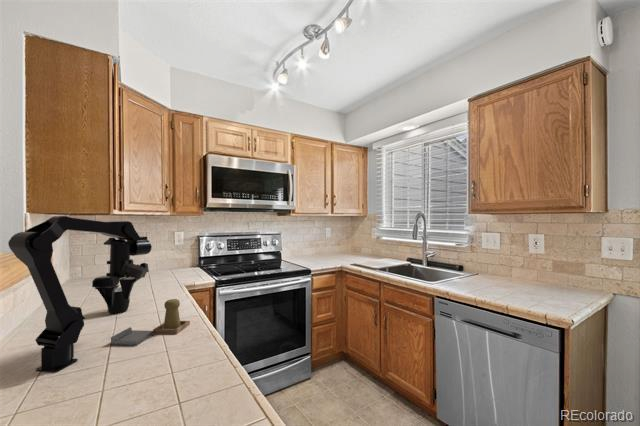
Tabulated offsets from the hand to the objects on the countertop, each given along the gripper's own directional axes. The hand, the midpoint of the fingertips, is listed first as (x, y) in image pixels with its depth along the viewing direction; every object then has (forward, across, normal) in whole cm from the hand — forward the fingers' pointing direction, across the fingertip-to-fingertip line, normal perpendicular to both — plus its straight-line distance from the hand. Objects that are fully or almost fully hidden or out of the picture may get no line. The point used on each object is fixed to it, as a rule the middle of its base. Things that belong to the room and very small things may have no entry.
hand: (118, 302), depth 99 cm
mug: (+12, +33, +19) cm, 40 cm away
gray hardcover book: (+13, 0, -5) cm, 14 cm away
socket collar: (+12, +9, -14) cm, 21 cm away
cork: (+13, +9, -14) cm, 21 cm away
